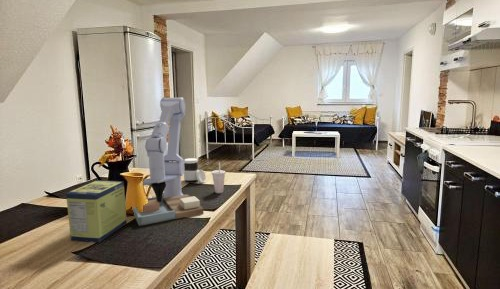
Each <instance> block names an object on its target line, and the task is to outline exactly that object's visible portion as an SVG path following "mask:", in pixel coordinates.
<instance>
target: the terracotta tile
mask: <svg viewBox="0 0 500 289" xmlns="http://www.w3.org/2000/svg"><path fill="white" fill-rule="evenodd" d="M155 210H160V208H159V203H158V201H157V200H156V199H154V200H148V203H147V204H145V205H143V212H149V211H155Z"/></svg>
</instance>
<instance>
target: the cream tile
mask: <svg viewBox="0 0 500 289" xmlns="http://www.w3.org/2000/svg"><path fill="white" fill-rule="evenodd" d="M200 201H201V200H200V199H198V198H197V197H196V196H190V197H187V198H181V199H180V205H181V206H182V207H183V208H184V209H190V208H195V207H200V206H201V202H200Z"/></svg>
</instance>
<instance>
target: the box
mask: <svg viewBox="0 0 500 289" xmlns="http://www.w3.org/2000/svg"><path fill="white" fill-rule="evenodd" d="M163 198H164V196H163V195H162V200H161V202H158V203H159V208H160V210H155V211H149V212H139V211H138V209H137V207H133V211H134V214H133V216H134V218H135V220H136V222H137V224H138V225H137V226H138V227H141V226H146V225H151V224H156V223H163V222H167V221H173V220H176V216H175V210H173V211H170V210H169V209H168V207H167V206H166V205H165V203H164V200H163ZM146 199H148V200H154V199H156V200H157V198H156V196H154V197H147V198H146Z"/></svg>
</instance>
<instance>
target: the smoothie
mask: <svg viewBox="0 0 500 289" xmlns="http://www.w3.org/2000/svg"><path fill="white" fill-rule="evenodd" d="M211 175H212V180H213V187H214V192H215V193H216V194H222V193H224V187H225V186H224V185H225V175H226V170H223V169H221V162H218V169H216V170H212V171H211Z"/></svg>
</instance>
